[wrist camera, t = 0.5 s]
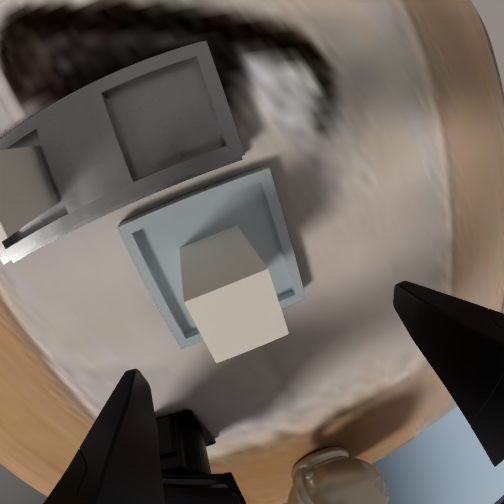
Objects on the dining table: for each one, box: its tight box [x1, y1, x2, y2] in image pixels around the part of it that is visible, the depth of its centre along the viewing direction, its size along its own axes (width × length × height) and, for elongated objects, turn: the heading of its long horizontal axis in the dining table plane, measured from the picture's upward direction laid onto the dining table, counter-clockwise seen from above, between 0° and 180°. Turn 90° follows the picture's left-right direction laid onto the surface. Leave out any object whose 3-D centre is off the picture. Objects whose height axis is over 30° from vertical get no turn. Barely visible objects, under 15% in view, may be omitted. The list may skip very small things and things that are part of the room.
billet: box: [179, 226, 289, 363], centre depth 17 cm, size 4×4×7 cm
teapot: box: [287, 447, 389, 504], centre depth 28 cm, size 18×14×16 cm
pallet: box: [0, 41, 245, 265], centre depth 15 cm, size 8×17×2 cm, turn 108°
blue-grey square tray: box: [117, 166, 306, 349], centre depth 20 cm, size 10×10×1 cm
